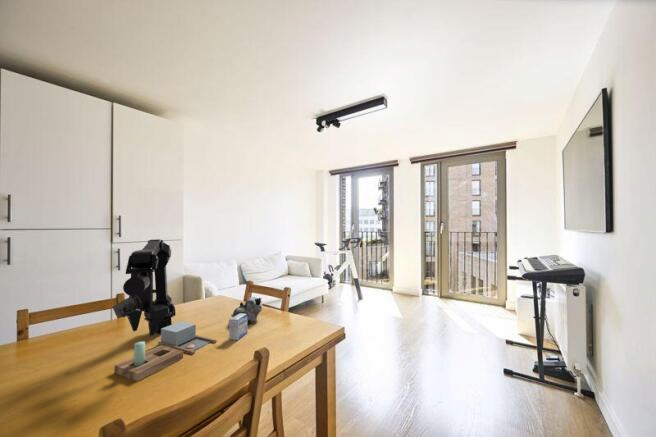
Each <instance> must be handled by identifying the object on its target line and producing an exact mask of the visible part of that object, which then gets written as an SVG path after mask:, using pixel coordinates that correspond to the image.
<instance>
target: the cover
mask: <svg viewBox="0 0 656 437" xmlns="http://www.w3.org/2000/svg"><path fill="white" fill-rule="evenodd" d="M196 329H197V328H196V323H191V322H186V321H183V320H181V321H178V322H176V323H173V324H172V325H170V326H167V327H164V328H162V329H161V334H160V342H163V343H167V344H171V345H175V346H178V347H179V346H181V345H183V344H186V343H188V342H190V341H192V340H194V339H196V338H195V337H196V335H197V334H196Z"/></svg>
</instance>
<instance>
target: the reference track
mask: <svg viewBox="0 0 656 437" xmlns="http://www.w3.org/2000/svg"><path fill="white" fill-rule="evenodd" d="M210 343H214V344H216V343H217V339H215V338H210V337H206V336H202V335H197V334H196V337H195V338H194V339H192V340H189V341H187V342H185V343H183V344H181V345H178V346H175V345H171V344H167V343H163V342H161V341H158V342H157V346H161V345H163V346H166V347H170V348H173V349H177V350H181V351H183V353H186V354H190V355H195V354H196V351H198V350H199V349H201V348H203V347H205V346H207V345H209V344H210Z"/></svg>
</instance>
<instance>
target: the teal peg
mask: <svg viewBox="0 0 656 437" xmlns="http://www.w3.org/2000/svg"><path fill="white" fill-rule="evenodd" d="M133 345H134V346H133V348H134V349H133V353H134V354H133V357H134V367H135V368H137V367H139V366H141V365H143V364H145V352H146V341H143V340H142V341H138V342H136V343H134V344H133Z"/></svg>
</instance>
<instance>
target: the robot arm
mask: <svg viewBox="0 0 656 437" xmlns="http://www.w3.org/2000/svg"><path fill="white" fill-rule="evenodd" d="M171 257H172V249H171V246H170V245H169V244H167V243H165V242H164V240H163V239H161V238H160V239H158V238H157V239H155V238H154V239H150V240H149V239H148V240H147V243H146V245H145V246H144V247H142V249H138V250H135V251H133V252H132V253H131V254H130V255H129V256H128V260H127V265H126V269H125V275H130V278H128V279H127V280H125V282H124V284H123V286H122V290H123V292H124V293H125V295H127V296H128V297H127V298H125V299H123V300H121V301H120V302H118V303H116V304H115V305H113V306H112V309H113V311H114V314H115V316H116V317H121V318H125V317H126V318H127V320H128V322H129V324H130V326H131V329H132V331H133V332H136V331H138V328H139V325H140V321H141V317H142V314H143V316H144V317H145V318H143V319H144V320H145V321H147V323H148V324H147V325H148V332H149V337H153V336H154V335H155V334H156V333H157V334H160V335H161V329H162V328H164V327H167V326H170V325H172V323H173V322H172V318H174V317H176V315H177V313H176V306H175V305H174V304H175V303H173V299H172V297H171V296H170V295H169V294H168V280H167V278H168V274H167V265H168V263H169V261H170V259H171ZM154 283H155V284H154ZM154 285H155V286H154ZM154 287H155V289H154ZM154 294H155V298H154Z"/></svg>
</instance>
